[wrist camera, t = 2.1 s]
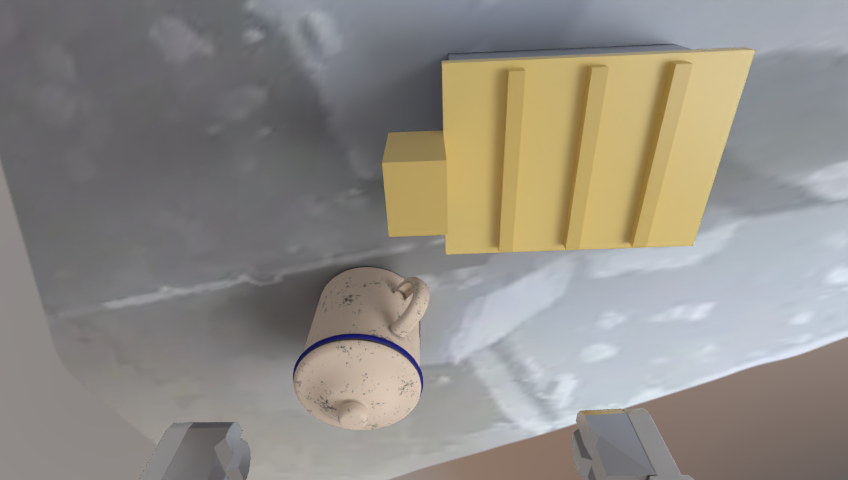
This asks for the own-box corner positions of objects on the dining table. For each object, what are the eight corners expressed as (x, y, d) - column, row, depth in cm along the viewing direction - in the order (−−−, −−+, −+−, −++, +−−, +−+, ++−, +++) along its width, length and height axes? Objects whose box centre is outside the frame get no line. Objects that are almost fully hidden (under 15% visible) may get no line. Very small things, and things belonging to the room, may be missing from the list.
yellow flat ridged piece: (745, 47, 22) (812, 63, 18) (686, 239, 28) (728, 281, 24) (382, 63, 23) (374, 82, 19) (398, 249, 28) (394, 292, 25)
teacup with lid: (381, 358, 42) (368, 480, 32) (297, 311, 39) (254, 429, 29) (467, 278, 37) (483, 391, 27) (379, 217, 34) (360, 319, 24)
